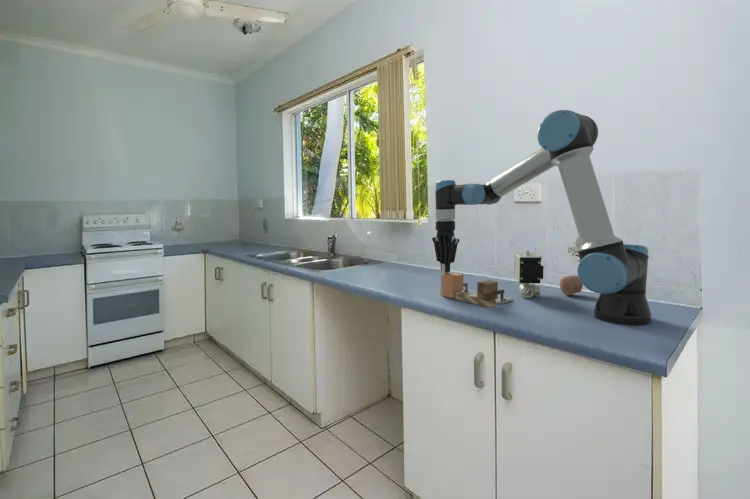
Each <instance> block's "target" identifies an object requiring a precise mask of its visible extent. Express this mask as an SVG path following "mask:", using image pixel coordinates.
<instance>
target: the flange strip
mask: <svg viewBox="0 0 750 499" xmlns="http://www.w3.org/2000/svg"><path fill="white" fill-rule="evenodd" d="M463 292H466V293H470V294H474V295H477V289H472V288H468V290H465V288H463ZM513 301H514V297H513V298H512V297H508V296H504V295H503V298H501V294H498V298H497V299H496V305H497V306H498V305H503V304H506V303H510V302H511V303H512V302H513Z"/></svg>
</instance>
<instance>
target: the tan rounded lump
mask: <svg viewBox="0 0 750 499" xmlns="http://www.w3.org/2000/svg"><path fill="white" fill-rule="evenodd" d="M583 286H584V285H583V284H582V283H581V281H580V279H579V277H578V275H573V274H572V275H564V276H562V277H561V279H560V280H559V288H560V290H561V292H562V293H563V294H564V295H565V296H568V297H569V296H571V295H575V294H578V293H581V291H582V290H583Z"/></svg>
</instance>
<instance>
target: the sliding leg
mask: <svg viewBox="0 0 750 499" xmlns="http://www.w3.org/2000/svg"><path fill="white" fill-rule="evenodd" d="M468 285H469V284H468V282H464V274H461V273H456V272H449V273H447V274H442V273H441V274H440V289H441V290H442V295H441V297H442V296H443V297H446V298H451V299H454V292H455V291H461V292H463V289H465V290H468V289H469V286H468Z"/></svg>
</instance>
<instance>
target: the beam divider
mask: <svg viewBox="0 0 750 499" xmlns="http://www.w3.org/2000/svg"><path fill="white" fill-rule="evenodd" d="M476 283H477V284H476V286H477V287H476V290H477V295H474V294H470V293H466V292H461V291H455V292H454V298H453V299H455V300H460V301H463V302H466V303H470V304H473V305H479V306H482V307H487V308H494V307H496V299H497V298H498V295H500V296H501V298H503V296H504V294H505V289H498V288H499V287H498V286H499V285H498V284H499V282H498V281H495V280H490V279H487V280H483V281H477V282H476ZM439 292H440V293H439V295H440V296H442V290H441V288H439Z"/></svg>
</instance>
